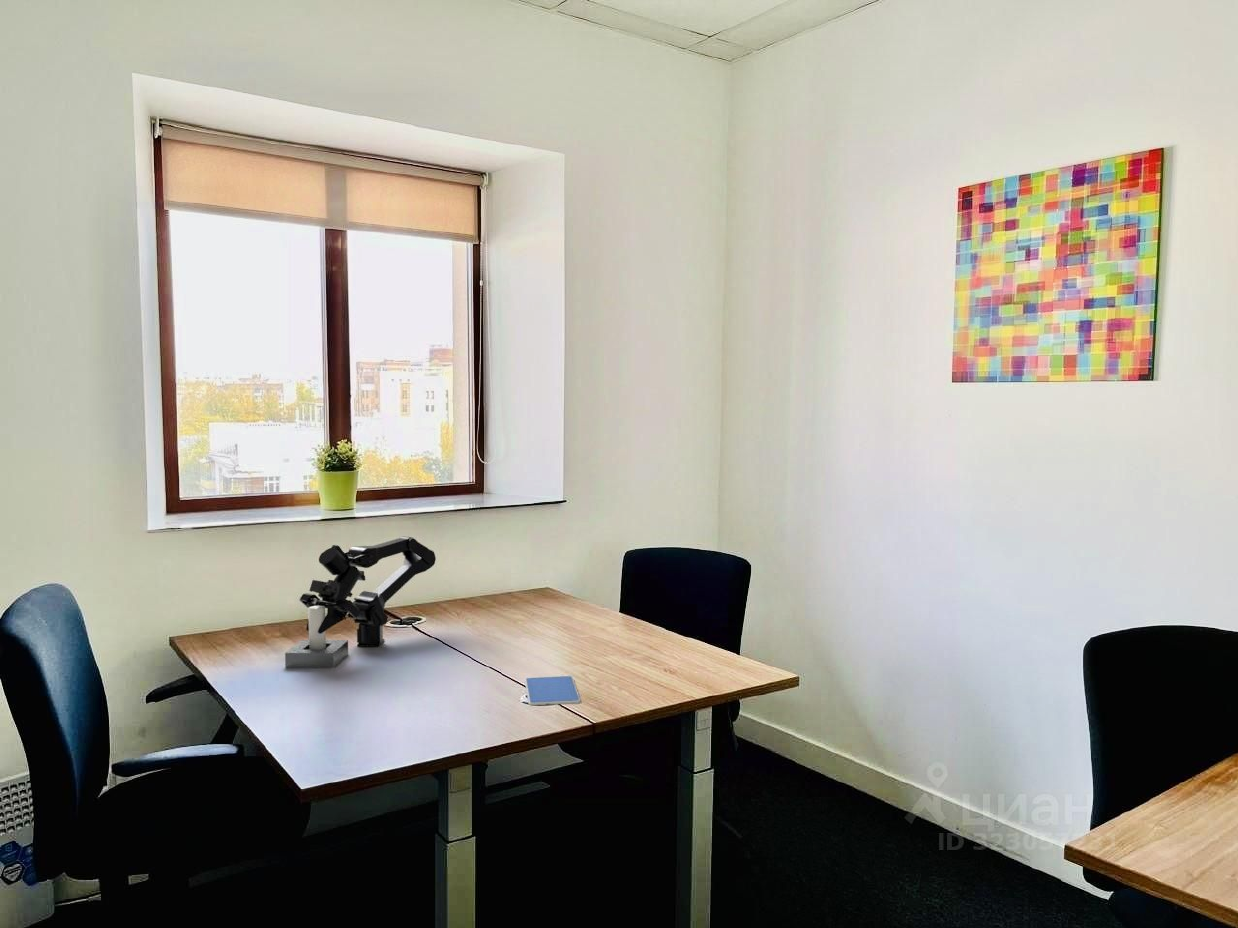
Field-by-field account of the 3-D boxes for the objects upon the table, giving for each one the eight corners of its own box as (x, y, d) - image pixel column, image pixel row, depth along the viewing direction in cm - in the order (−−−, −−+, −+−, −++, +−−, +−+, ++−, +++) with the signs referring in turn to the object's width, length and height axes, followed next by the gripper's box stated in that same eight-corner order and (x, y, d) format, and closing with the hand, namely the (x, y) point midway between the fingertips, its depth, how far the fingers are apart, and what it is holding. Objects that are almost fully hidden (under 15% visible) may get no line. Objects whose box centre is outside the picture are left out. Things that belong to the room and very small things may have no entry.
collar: (348, 653, 261) (348, 640, 261) (333, 667, 248) (333, 653, 248) (302, 653, 261) (302, 639, 261) (285, 667, 248) (285, 652, 248)
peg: (327, 651, 257) (326, 605, 256) (324, 655, 252) (323, 609, 251) (311, 651, 256) (310, 605, 255) (307, 656, 252) (306, 609, 251)
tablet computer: (581, 705, 221) (581, 700, 221) (528, 707, 219) (528, 702, 219) (572, 680, 240) (572, 675, 240) (524, 682, 238) (524, 677, 238)
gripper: (303, 564, 261) (272, 611, 252) (350, 571, 251) (319, 620, 243) (326, 587, 268) (296, 632, 259) (372, 594, 258) (343, 642, 250)
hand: (313, 631), depth 253 cm, fingers closed on peg, 4 cm apart
